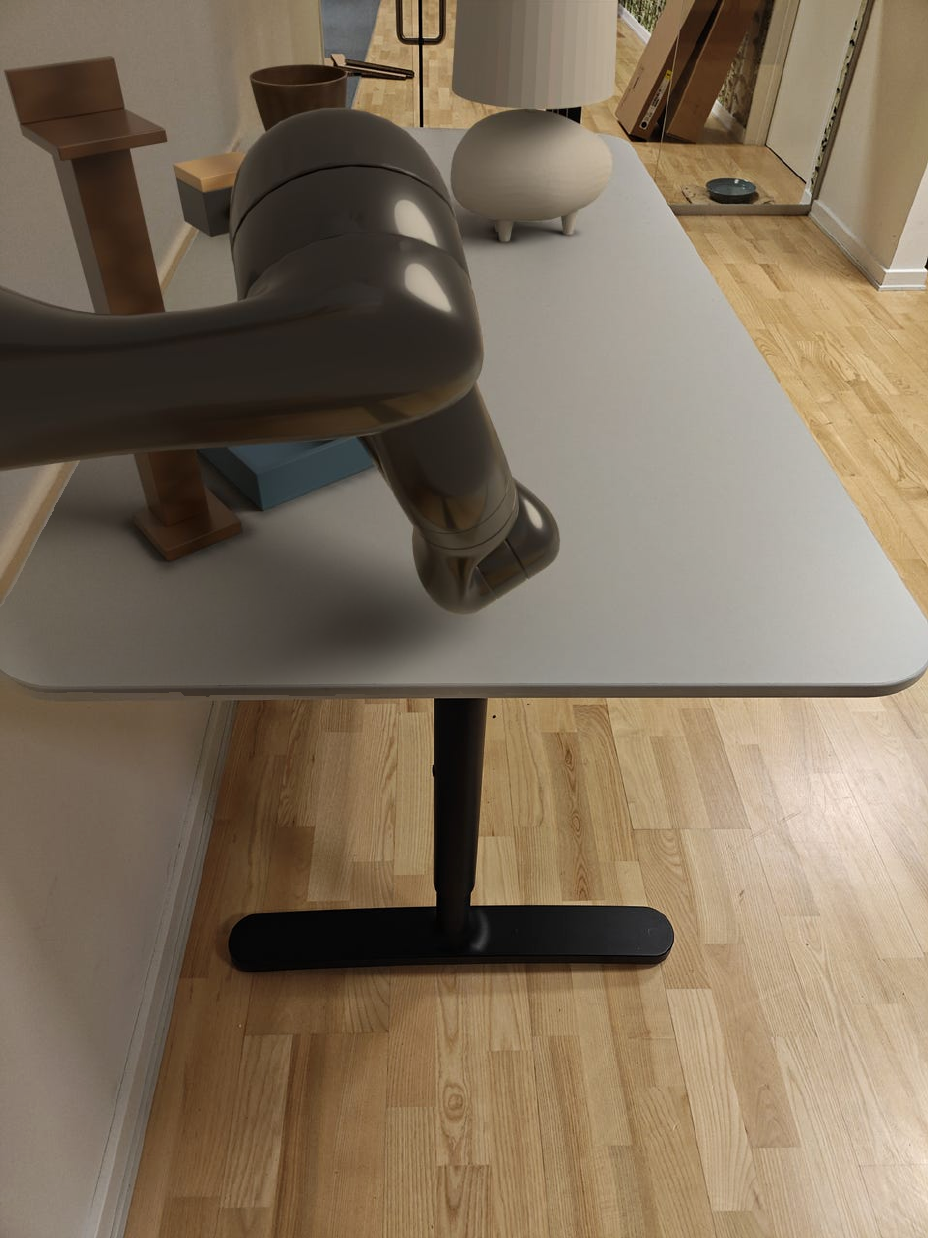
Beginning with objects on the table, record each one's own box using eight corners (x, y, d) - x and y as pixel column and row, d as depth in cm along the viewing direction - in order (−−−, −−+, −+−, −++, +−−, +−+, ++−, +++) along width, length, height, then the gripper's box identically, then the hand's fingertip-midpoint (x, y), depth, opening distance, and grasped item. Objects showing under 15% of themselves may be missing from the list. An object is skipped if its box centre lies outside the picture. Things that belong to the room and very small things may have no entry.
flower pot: (249, 194, 147) (233, 81, 136) (283, 167, 158) (271, 60, 147) (338, 201, 145) (328, 87, 134) (366, 173, 156) (359, 65, 145)
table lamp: (589, 208, 143) (619, -120, 117) (623, 259, 127) (667, -106, 101) (443, 213, 141) (440, -120, 114) (459, 266, 125) (460, -106, 98)
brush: (264, 270, 69) (255, 209, 66) (184, 220, 78) (172, 164, 75) (332, 252, 72) (326, 192, 69) (247, 205, 80) (238, 150, 77)
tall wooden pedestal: (168, 562, 77) (42, 91, 53) (134, 523, 81) (3, 69, 57) (243, 531, 80) (155, 74, 56) (207, 495, 84) (110, 55, 60)
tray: (377, 465, 88) (374, 429, 85) (262, 511, 82) (256, 474, 80) (276, 388, 99) (271, 354, 97) (169, 423, 93) (161, 389, 91)
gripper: (456, 315, 69) (340, 146, 72) (297, 367, 63) (176, 179, 66) (429, 376, 76) (323, 218, 79) (282, 428, 69) (172, 255, 72)
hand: (256, 201), depth 72 cm, fingers closed on brush, 2 cm apart
